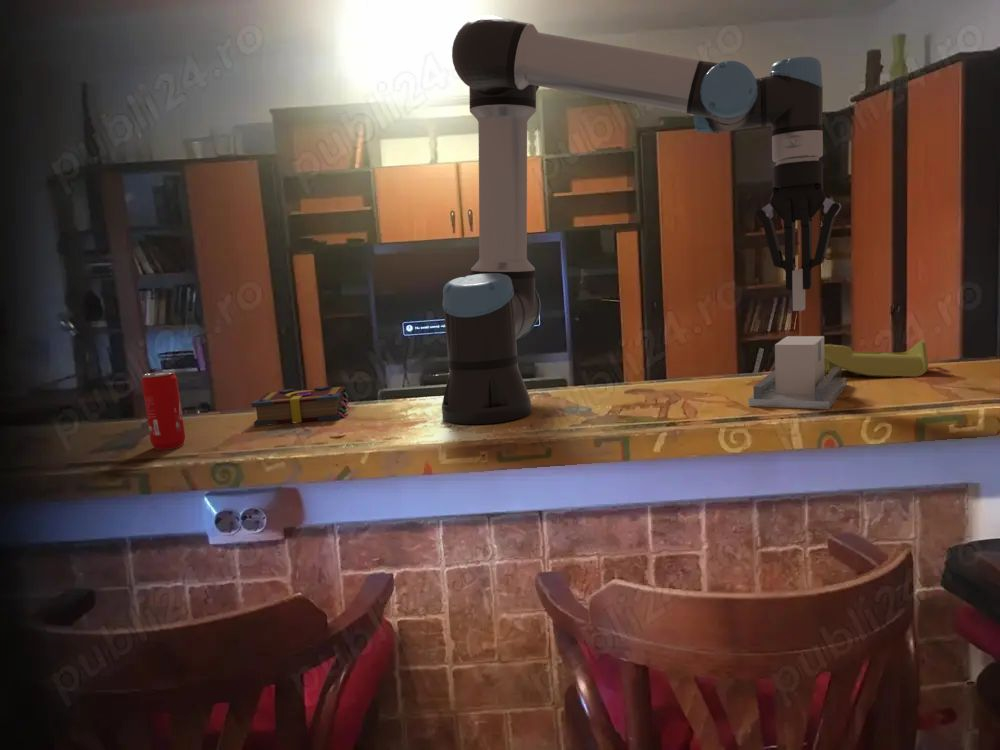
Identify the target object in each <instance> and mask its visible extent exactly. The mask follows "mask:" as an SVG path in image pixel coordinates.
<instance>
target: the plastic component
mask: <svg viewBox="0 0 1000 750" xmlns="http://www.w3.org/2000/svg"><path fill="white" fill-rule="evenodd" d="M834 366H842V370H845V371H848V372H850V373H854V374H857V375H861V376H866V377H881V378H882V377H883V378H889V377H890V378H897V377H896V376H900V377H899V378H919V377H921V376H922V375H924V374H925V373H926V372H927V371H928V368H929V360H928V352H927V344H926V342H925V340H919V341H918V342H917V343H916V344H914V345H913V346H912V347H911V348H910V349H908V350H906V351H901V352H889V351H888V352H886V351H883V352H882V351H855V350H854V351H853V349H852V348H850V347H849V346H845V345H842V344H841V345H840V344H839V345H838V344H833V343H826V344H825V343H824V373H825V375H827V373H829V372H830V371H831V370H832V368H833V367H834ZM894 376H895V377H894ZM901 376H902V377H901Z"/></svg>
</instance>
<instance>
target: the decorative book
mask: <svg viewBox="0 0 1000 750" xmlns="http://www.w3.org/2000/svg"><path fill="white" fill-rule="evenodd" d="M349 397H350V396H349V395H348V394H347V390H346V386H336V387H335V386H333V387H330V386H329V385H325V386H323V385H322V386H318V387H315V388H311V389H310V388H308V389H299V390H298V389H296V390H295V388H289V389H288V388H287V389H282V390H279V391H275V392H274V391H273V392H266V393H265V394H264V395H262V396H261V397H260V398H258V399H255V400H254V401H253V402H251V403H250V404H251V408H255V409H256V416H257V419H256V420H255V421H253V426H254V425H264V426H269V425H268V424H275V425H277V424H284V423H286V422H287V423H292V422H302V421H303V422H306V421H307V422H308V421H318V422H319V421H320V422H321V421H332V420H341V418H342V417H343V418H345V419H346V415H344V413H345V411H346V409H349V408H350V406H349V399H347V398H349ZM303 422H302V423H303Z"/></svg>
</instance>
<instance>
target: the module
mask: <svg viewBox="0 0 1000 750" xmlns="http://www.w3.org/2000/svg"><path fill="white" fill-rule="evenodd" d="M824 345H825V336H824V335H819V336H818V335H815V336H814V335H808V336H807V335H804V336H803V335H800V336H799V335H794V336H793V335H789V336H788V335H787V336H786V337H784V338H782V339H781V340H779V341H778V342H777V343H775V344H774V367H775V368H774V370H775V386H776V393H780V394H812V395H815V388H816V387H817V386H818V384H819V383H820V382H821V381H822V380H823V379H824V378H825V376H826V374H825V373H824Z"/></svg>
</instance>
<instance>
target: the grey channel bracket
mask: <svg viewBox="0 0 1000 750" xmlns="http://www.w3.org/2000/svg"><path fill="white" fill-rule="evenodd" d="M842 372H843V368H842V366H834V367H833V368H832V370H831V371H830V372H829V373H828V374H825V378H824V379H823V380H822V381H821V382H820V383H819V384H818V386H817V387H816V388H815V395H812V394H780V393H776V386H775V369H773V370H771V372H770V373H769V374H767V375H766V376H765V377H763V379H761V380H760V381H758V382H757V383H756V384H755V385H753V394H752V395H751V396H749V398H748V407H765V408H784V409H785V408H787V409H788V408H789V409H810V410H811V409H813V410H815V409H816V410H830V409H831V408H832V406H833V405H834V404H835V402H836V400H837V399H838V398H839V397H840V395H841V394H842V392H843V391H844V390H845V389H846V387H847V384H848V378H847V377H843V375H842V374H843V373H842ZM832 404H833V405H832ZM830 407H831V408H830Z"/></svg>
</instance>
